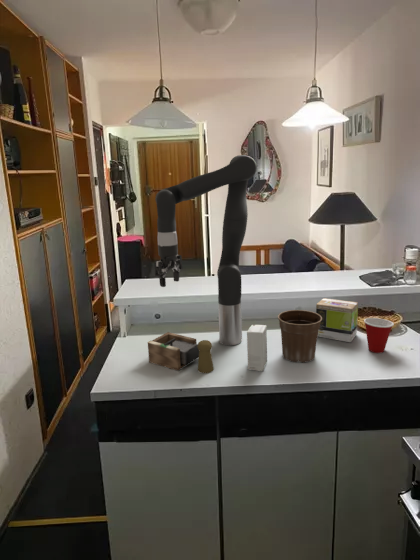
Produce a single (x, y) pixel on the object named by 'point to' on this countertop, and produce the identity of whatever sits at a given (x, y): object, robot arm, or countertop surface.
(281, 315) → the plant pot
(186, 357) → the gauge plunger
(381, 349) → the plastic cup
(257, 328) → the skincare box
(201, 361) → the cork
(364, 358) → the countertop surface
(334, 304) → the tea box
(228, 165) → the robot arm
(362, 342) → the countertop surface
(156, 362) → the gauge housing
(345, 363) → the countertop surface
